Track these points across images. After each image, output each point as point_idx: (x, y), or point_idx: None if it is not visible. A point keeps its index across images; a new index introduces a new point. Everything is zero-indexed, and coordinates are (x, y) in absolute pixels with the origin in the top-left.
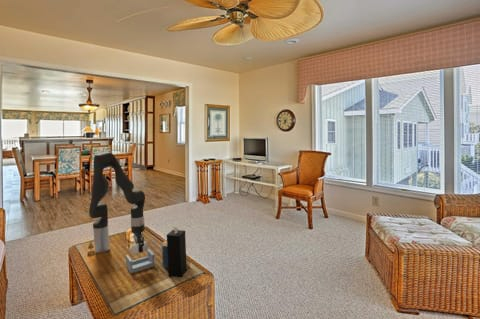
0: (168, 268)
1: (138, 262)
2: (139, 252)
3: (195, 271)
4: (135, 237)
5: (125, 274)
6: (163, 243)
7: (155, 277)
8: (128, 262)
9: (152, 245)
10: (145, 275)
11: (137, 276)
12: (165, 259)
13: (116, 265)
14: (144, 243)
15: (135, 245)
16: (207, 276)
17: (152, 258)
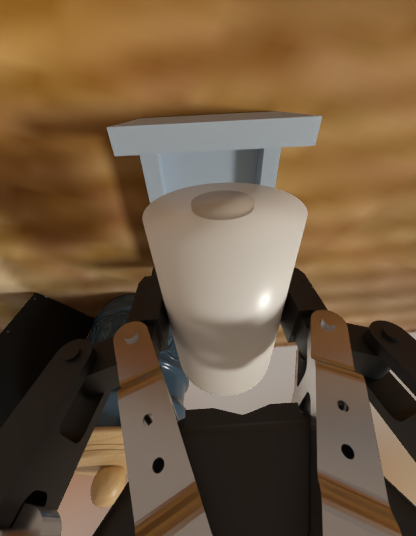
0: (8, 324)
1: None
2: (154, 268)
3: None
4: (314, 471)
5: (147, 68)
6: (111, 438)
7: (39, 245)
8: (192, 119)
9: (391, 300)
10: (78, 205)
11: (79, 157)
12: (97, 338)
13: (376, 11)
14: (199, 375)
15: (192, 305)
16: None
17: None
